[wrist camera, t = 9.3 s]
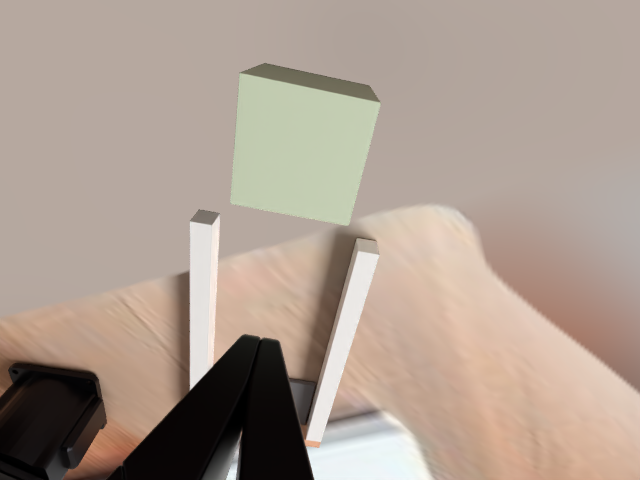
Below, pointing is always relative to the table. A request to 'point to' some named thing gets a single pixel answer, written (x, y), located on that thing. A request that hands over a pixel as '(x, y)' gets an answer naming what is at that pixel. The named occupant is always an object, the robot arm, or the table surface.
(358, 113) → the block
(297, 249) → the table surface
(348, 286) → the channel
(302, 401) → the grey and orange drawer
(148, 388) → the table surface
